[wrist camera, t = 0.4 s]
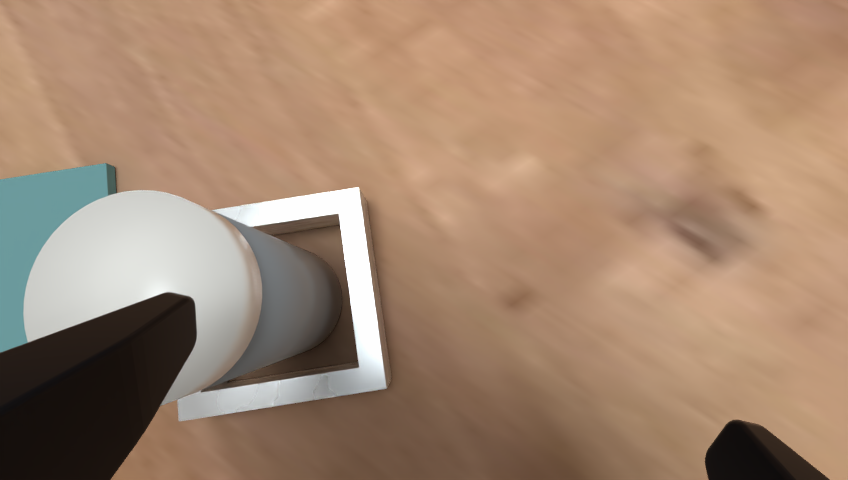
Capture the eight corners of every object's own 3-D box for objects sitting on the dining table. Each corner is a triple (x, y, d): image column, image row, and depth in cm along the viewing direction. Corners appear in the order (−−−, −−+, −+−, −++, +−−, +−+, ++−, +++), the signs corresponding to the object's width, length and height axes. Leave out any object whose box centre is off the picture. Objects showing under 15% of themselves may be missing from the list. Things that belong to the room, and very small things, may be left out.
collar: (391, 378, 21) (386, 388, 19) (208, 407, 21) (179, 421, 18) (366, 200, 22) (358, 187, 20) (193, 227, 22) (163, 217, 20)
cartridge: (348, 345, 21) (253, 393, 10) (243, 362, 21) (26, 429, 10) (335, 241, 22) (232, 174, 11) (233, 257, 22) (20, 207, 11)
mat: (129, 413, 21) (120, 416, 20) (-85, 447, 21) (-100, 451, 20) (114, 166, 23) (106, 163, 22) (-84, 197, 23) (-98, 194, 22)
